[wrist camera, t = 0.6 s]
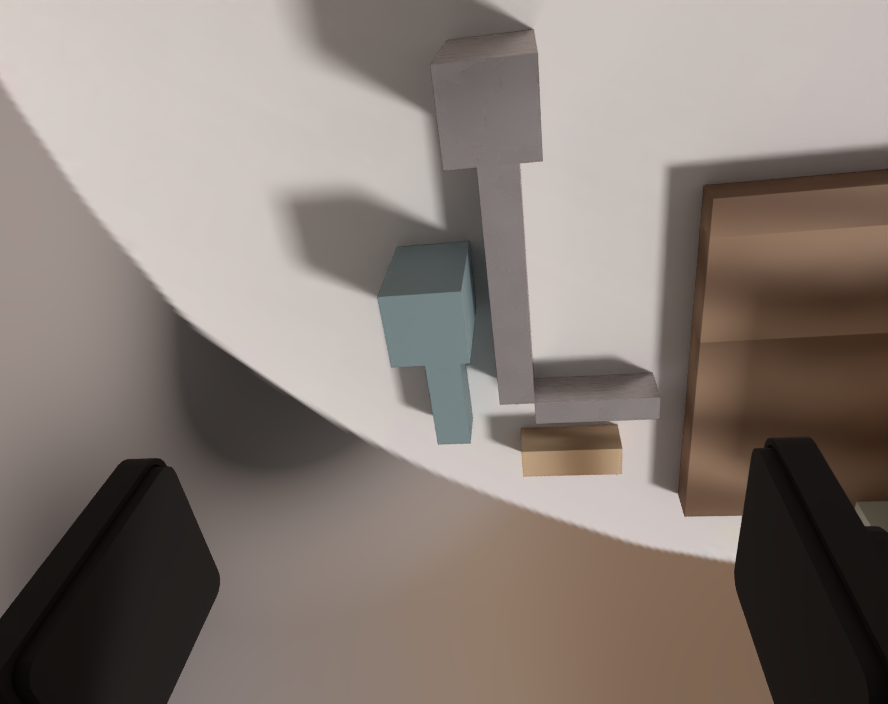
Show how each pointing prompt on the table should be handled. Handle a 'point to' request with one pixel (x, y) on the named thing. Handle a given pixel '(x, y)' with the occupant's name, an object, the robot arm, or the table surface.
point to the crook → (516, 219)
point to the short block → (571, 450)
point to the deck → (788, 334)
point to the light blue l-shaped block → (434, 327)
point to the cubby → (873, 513)
